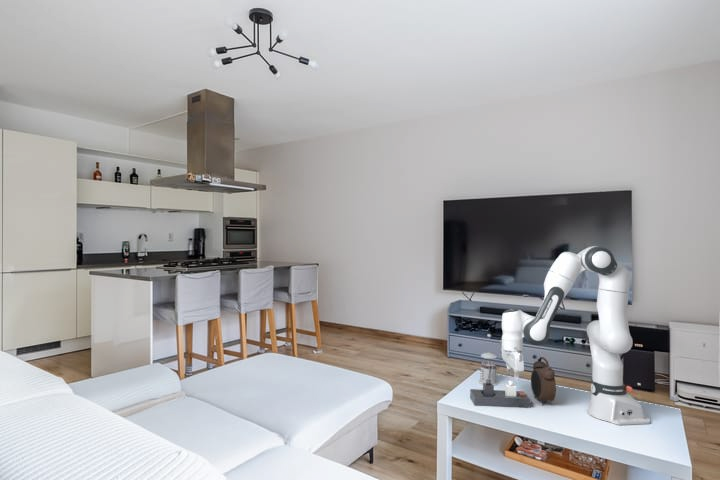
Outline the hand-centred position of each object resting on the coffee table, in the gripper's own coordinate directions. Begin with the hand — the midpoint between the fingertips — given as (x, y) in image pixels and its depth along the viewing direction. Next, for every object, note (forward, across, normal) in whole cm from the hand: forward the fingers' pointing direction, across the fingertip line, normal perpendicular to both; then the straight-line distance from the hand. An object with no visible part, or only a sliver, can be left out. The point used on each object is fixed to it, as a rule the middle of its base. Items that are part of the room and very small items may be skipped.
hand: (512, 376), depth 183 cm
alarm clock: (+13, +3, -14) cm, 19 cm away
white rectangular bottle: (+12, 0, +1) cm, 12 cm away
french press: (+12, +26, +4) cm, 29 cm away
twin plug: (+12, 0, +11) cm, 16 cm away
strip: (+12, 0, +6) cm, 14 cm away
